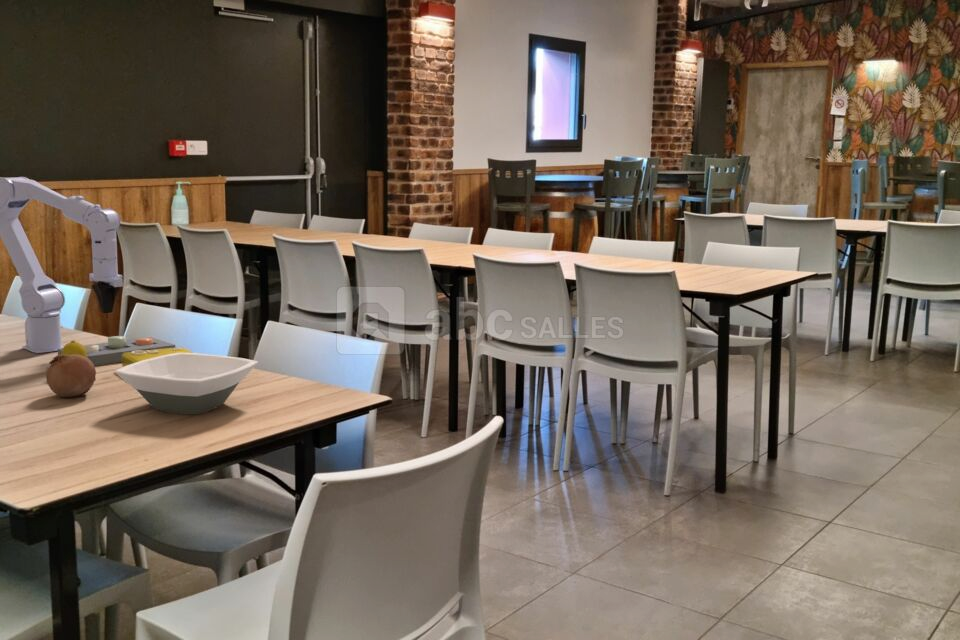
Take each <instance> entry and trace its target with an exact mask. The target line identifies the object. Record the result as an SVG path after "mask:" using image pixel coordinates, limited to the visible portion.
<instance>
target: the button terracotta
mask: <svg viewBox="0 0 960 640" xmlns="http://www.w3.org/2000/svg"><path fill="white" fill-rule="evenodd" d="M152 338H153V337H152ZM152 338H149V337H139V338H134V339H135V344H136V345H138V346H144V345H152V344H153V339H152Z"/></svg>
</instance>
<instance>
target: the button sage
mask: <svg viewBox="0 0 960 640" xmlns="http://www.w3.org/2000/svg"><path fill="white" fill-rule="evenodd" d="M126 340H127V336H124V335H116V336H115V335H113V336H109V337H107V343H108V348H109V349H112V350H113V349H120V348H126Z"/></svg>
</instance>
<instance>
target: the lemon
mask: <svg viewBox="0 0 960 640" xmlns="http://www.w3.org/2000/svg"><path fill="white" fill-rule="evenodd" d="M83 345H84V344H82V343H80V342H78V341H76V340H71V341H70V342H68V343H66V344H65V345H63V346H64V347H63V349H62V352H61V355H63V354H66V355H82V356H85V357H87V352H86V349H85V347H84V346H83Z"/></svg>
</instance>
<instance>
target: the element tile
mask: <svg viewBox="0 0 960 640" xmlns="http://www.w3.org/2000/svg"><path fill="white" fill-rule="evenodd" d="M174 353H194V352H193V351H191V350H189V349H186V348H184V347H182V346H177V347H176V346H175V348H166V349H156V350H146V351H143V350H137V351H132V352H127V353H123V354H122V362H121V368H122V367H125V366H127V365H130V364H133V363H136V362H139V361H142V360H146V359H150V358H155V357H159V356H163V355H168V354H174Z"/></svg>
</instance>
